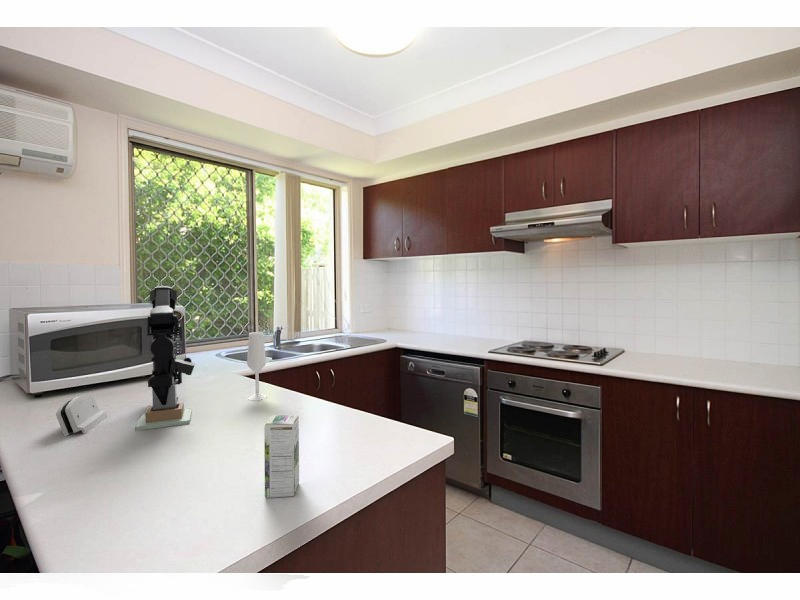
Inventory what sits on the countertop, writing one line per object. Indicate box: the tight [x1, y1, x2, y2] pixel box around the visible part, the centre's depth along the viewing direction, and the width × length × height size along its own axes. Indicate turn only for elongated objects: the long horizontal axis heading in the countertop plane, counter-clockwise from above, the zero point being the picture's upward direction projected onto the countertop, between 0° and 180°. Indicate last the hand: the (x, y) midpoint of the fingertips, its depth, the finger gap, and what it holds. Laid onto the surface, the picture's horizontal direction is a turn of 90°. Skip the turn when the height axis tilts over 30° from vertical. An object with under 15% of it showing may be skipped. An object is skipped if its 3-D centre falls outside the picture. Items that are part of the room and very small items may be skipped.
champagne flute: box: [246, 331, 267, 401], centre depth 152 cm, size 7×7×24 cm
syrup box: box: [263, 414, 300, 499], centre depth 83 cm, size 6×6×14 cm
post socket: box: [134, 402, 193, 431], centre depth 127 cm, size 13×14×4 cm
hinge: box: [55, 394, 108, 437], centre depth 123 cm, size 17×5×10 cm, turn 17°
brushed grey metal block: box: [151, 383, 178, 411], centre depth 127 cm, size 4×6×8 cm, turn 113°
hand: (165, 403), depth 127 cm, fingers closed on brushed grey metal block, 4 cm apart
